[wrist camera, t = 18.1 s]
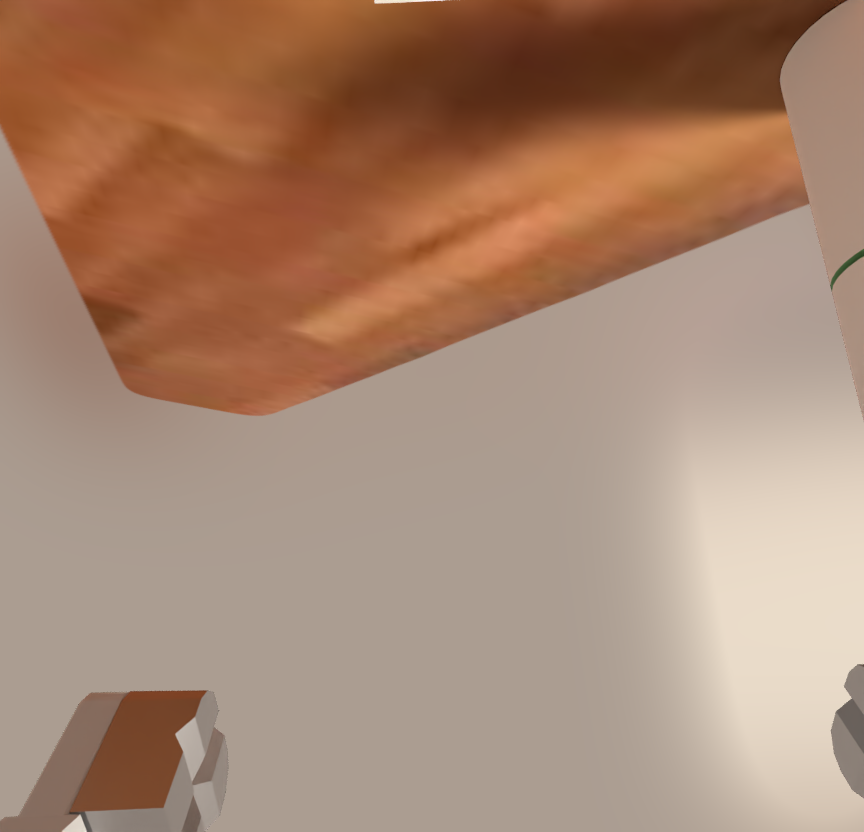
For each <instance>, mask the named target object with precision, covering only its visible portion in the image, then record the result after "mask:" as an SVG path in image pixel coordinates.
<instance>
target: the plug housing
mask: <svg viewBox="0 0 864 832" xmlns="http://www.w3.org/2000/svg"><path fill="white" fill-rule="evenodd" d="M374 1H375V4H376V3H398V2H421V1H443V0H374Z"/></svg>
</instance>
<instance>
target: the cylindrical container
mask: <svg viewBox="0 0 864 832" xmlns="http://www.w3.org/2000/svg"><path fill="white" fill-rule="evenodd" d="M780 85H781V91H782V95H783V99H784V103H785V107H786V111H787V115H788V119H789V123H790V127H791V131H792V135H793V139H794V143H795V147H796V151H797V155H798V159H799V163H800V167H801V171H802V175H803V179H804V183H805V187H806V190H807V194H808V198H809V202H810V206H811V210H812V214H813V218H814V222H815V226H816V230H817V234H818V238H819V242H820V246H821V250H822V254H823V258H824V262H825V266H826V270H827V274H828V278H829V282H830V286H831V290H832V294H833V298H834V303H835V307H836V311H837V315H838V319H839V323H840V328H841V332H842V336H843V340H844V344H845V348H846V352H847V356H848V360H849V363H850V368H851V371H852V376H853V380H854V384H855V388H856V392H857V396H858V400H859V404H860V408H861V412H862V415H863V420H864V0H847V1H845V2H844V3H842V4H840V5H838V6H837V7H836V8H834V9H833V10H831V11H830V12H828V13H827V14H825V15H824V16H823V17H821V18H820V19H819V20H818V21H817V22H816V23H814V24H813V25H812V26H811V27H810V28H809V29H808V30H807V31H806V32H805V33H804V34H803V35H802V36H801V37H800V38H799V40H798V41H797V42H796V43H795V45H794V46H793V47H792V49H791V50H790V52H789V53H788V55H787V57H786V59H785V61H784V64H783V66H782V69H781V75H780Z"/></svg>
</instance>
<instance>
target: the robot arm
mask: <svg viewBox="0 0 864 832" xmlns="http://www.w3.org/2000/svg"><path fill="white" fill-rule="evenodd" d="M844 687H845V688H846V690H847V691H848V693H849V695H850V696H851V698H852V699H851V700H849V701H848V702H847V703H846V704H845V705H843V706H842V707H841V708H840V709H838V710H837V711H836V713H835V718H834V721H833V726H832V729H831V734H832V741H833V749H834V754H835V757H836V759H837V762H838V765H839V767H840V770H841V772H842V774H843V775H844V777H845V778H846V780H847V782H848V783H849V785H850V787H851V789H852V790H853V791H854V792H856V793H857V794H859V795H860V796H861V797H863V798H864V664H858V665H857V666H855V667H854V668H853V669H852V670H851V671H850V672H849V674H848V677H847V680H846V682H845V685H844ZM218 712H219V710H218V706H217V703H216V699H215V696H214V692H211V691H130V692H103V693H90V694H89V695H88V696H86V697H85V699H83V700H82V701H81V702H80V703H79V704H78V706H77V708H76V710H75V712H74V714H73V715H72V717H71V719H70V721H69V723H68V725H67V727H66V728H65V730H64V732H63V734H62V736H61V738H60V739H59V741H58V743H57V745H56V747H55V749H54V751H53V752H52V754H51V756H50V758H49V760H48V762H47V764H46V766H45V767H44V769H43V771H42V773H41V775H40V777H39V778H38V780H37V782H36V784H35V786H34V788H33V790H32V791H31V793H30V795H29V797H28V799H27V801H26V803H25V804H24V806H23V808H22V810H21V812H20V814H19V815H18V816H16V817H5V818H3V819H2V820H1V821H0V832H205V830H206V829H207V828H208V827H209V826H210V825H211V824H212V823H213V822H214V821H215V820H216V819H217V818H218V817H219V816H220V813H221V809H222V805H223V801H224V797H225V793H226V784H227V775H228V751H227V745H226V741H225V736H224V735H223V734H222V733H221V732H219V731H218V730H217V729H216V728H215V727H214V725H215V722H216V718H217V715H218Z"/></svg>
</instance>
